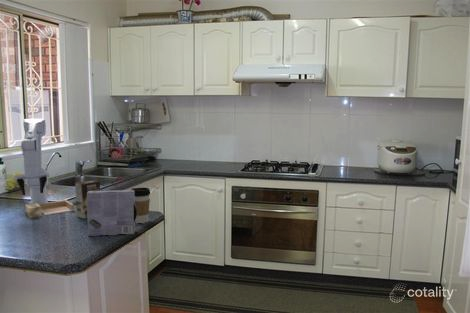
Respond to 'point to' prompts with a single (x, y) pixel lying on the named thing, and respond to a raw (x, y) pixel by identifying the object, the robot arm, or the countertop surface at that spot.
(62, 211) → the arena
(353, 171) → the countertop surface
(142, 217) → the coffee cup
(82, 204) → the coffee box
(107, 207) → the cake pan box
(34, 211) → the maple block
